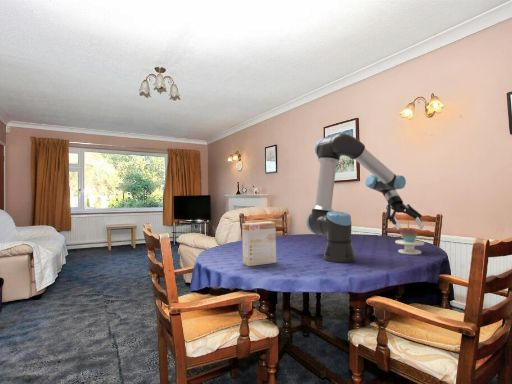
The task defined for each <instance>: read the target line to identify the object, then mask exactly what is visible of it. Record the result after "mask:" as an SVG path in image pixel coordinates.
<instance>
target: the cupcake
mask: <svg viewBox="0 0 512 384" xmlns="http://www.w3.org/2000/svg"><path fill="white" fill-rule="evenodd" d="M399 234H400V235H401V236H402V238H403V239H402V240H404V241H405V242H414V241H415V240H416V238H417V236H418V234H419V232H418V231H417V230H416V229H413V228H410V221H409V220H407V228H403V229H401V230H400V231H399Z"/></svg>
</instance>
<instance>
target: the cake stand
mask: <svg viewBox="0 0 512 384" xmlns="http://www.w3.org/2000/svg"><path fill="white" fill-rule="evenodd" d="M395 244H396V245H401V246H404V248H400V249H398V251H397V252H398V253H399V254H403V255H408V256H409V255H410V256H412V255H413V256H414V255H417V256H418V254H419V255H421V254H422V251H421V250H419V249H415V247H417V246H419V247H420V246H425V242H424V241H422V240H416V239H415V241H414V242H405V241H404V239H397V240H395Z"/></svg>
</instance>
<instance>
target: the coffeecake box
mask: <svg viewBox="0 0 512 384" xmlns="http://www.w3.org/2000/svg"><path fill="white" fill-rule="evenodd" d="M241 225H242V226H241V228H242V229H241V232H242V235H241V237H242V264H243V265H245V266H246V267H253V266H259V265H266V264H267V265H269V264H277V238H276V237H277V235H276V230H277V229H276V227H277V226H276V221H270V220H269V221H257V222H255V221H254V222H253V221H252V222H242V223H241Z"/></svg>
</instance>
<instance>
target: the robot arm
mask: <svg viewBox="0 0 512 384" xmlns="http://www.w3.org/2000/svg"><path fill="white" fill-rule="evenodd" d="M314 151H315V154H316V156H317V161H318V162H319V171H318V173H319V174H318V180H317V189H316V197H315V198H316V199H315V205H314V206H313V207H312V208H311V213H309V215H307V218H306V220H305V221H306V223H305V224H306V227H307V229H308V230H309V232H310V233H313V234H315V235H318V236H324V237H327V240H326V241H327V242H326V247H325V250H324V253H323V259H324V260H325V261H328V262H334V263H353V262H355V261H356V253H355V251H354V247H353V244H352V217H351V214H349V213H348V212H343V211H336V210H335V211H334V209H333V208H332V205H333V198H334V188H335V180H336V179H335V178H336V171H337V164H339V163H340V160H341V156H345V157H348V158H349V159H351V160H355V162H357V163H359V165H361V166H362V167H363V168H365V169H366V170H367V171H368V172H369V173H371V175H368V176H367V177H366V178H365V181H364V182H365V186H366V187H367V188H370V189H372V190H374V191H376V192H379V193H381V194H382V196H383V197H384V199H385V201H386V203H387V205H386V207H385V209H386V217H385V219H386V220H388V221H389V222H391V223H392V224H393V225H394V227H395V228H396V230H397V231H399V230H400V228H402V227H401V225H400V223H399V220H398V219H397V217H395V215H396V214H397V213H403V214H406V215H407V216H410V217H412V218H413V219H414V221H415V223H416V224H417V226H418V227H419V229H420V230H423V228H424V227H425V225H424V224H423V221H422V219H421V218H422V217H423V215H422V214H421V213H419V212H418V211H417V210H416V209H415V208H413V207H412V206H411V205H410V203H407V204H406V205H405V204H404V201H403V199H402V198H401V196H400V194H399V193H398V191H397V190H402V189H404V188H405V186H406V184H407V179H406V178H405V176H403V175H398V174H397V175H396V174H395V173H394V172H393V171H392V170H391V169H389V168H388V167H387V166H386V165H385V164H384V163H383V162H381V160H379V159H378V158H377V157H376V156H374V155H373V153H371V152H370V151H369V150H368V149H367V148H366V146H365V144H364V143H363V142H361V141H360V140H359V139H358V138H357V137H354V136H352V135H350V134H348V133H341V132H340V133H336V134H333V135H330V136H325V137H323V138H320V139H318V141H317V142H316V144H315V147H314ZM391 210H392V211H393V212H392V213H391Z"/></svg>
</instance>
